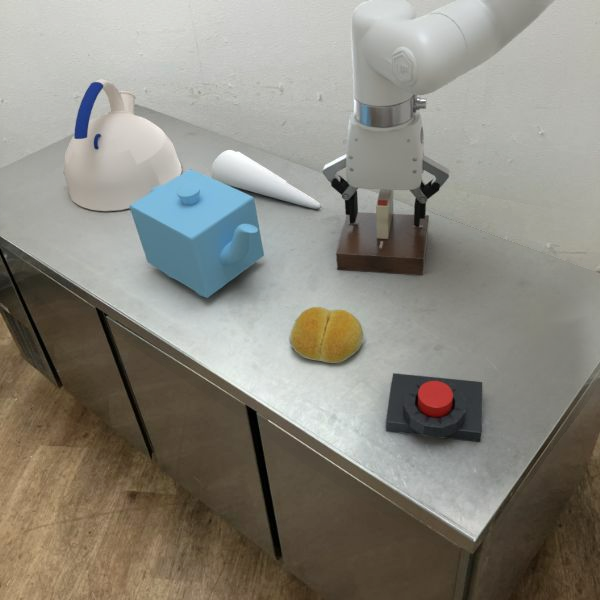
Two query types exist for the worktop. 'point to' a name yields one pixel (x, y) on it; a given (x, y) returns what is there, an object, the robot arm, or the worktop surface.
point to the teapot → (198, 231)
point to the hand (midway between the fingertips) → (385, 219)
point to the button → (435, 399)
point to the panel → (383, 245)
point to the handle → (384, 213)
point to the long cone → (256, 179)
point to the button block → (410, 420)
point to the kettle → (116, 153)
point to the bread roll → (326, 335)
